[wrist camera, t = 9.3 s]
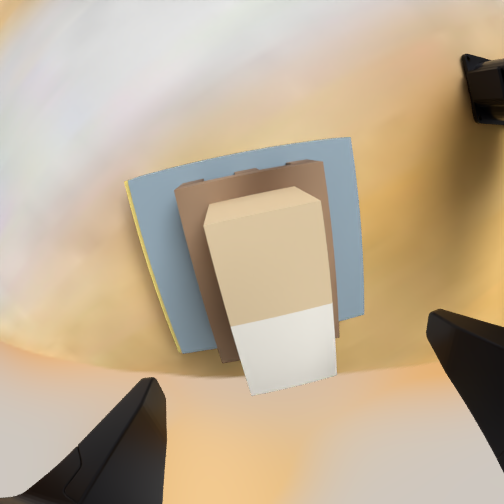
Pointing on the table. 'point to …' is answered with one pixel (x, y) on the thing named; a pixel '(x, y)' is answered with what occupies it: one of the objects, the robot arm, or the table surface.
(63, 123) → the table surface
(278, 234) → the tan carton
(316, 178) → the pallet
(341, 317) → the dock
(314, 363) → the off-white carton
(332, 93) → the table surface
